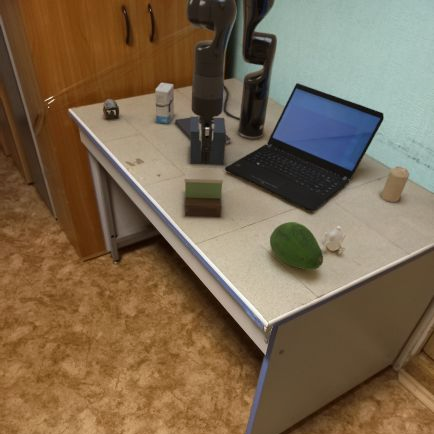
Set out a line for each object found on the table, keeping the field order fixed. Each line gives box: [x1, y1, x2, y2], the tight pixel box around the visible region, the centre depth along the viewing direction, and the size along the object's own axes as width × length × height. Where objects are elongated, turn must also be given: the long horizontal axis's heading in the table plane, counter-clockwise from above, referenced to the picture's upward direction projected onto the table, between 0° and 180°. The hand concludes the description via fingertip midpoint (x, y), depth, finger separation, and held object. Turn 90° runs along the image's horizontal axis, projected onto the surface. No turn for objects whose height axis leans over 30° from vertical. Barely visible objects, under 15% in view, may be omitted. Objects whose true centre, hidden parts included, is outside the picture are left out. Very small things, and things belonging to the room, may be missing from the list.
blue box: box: [189, 116, 227, 166], centre depth 139 cm, size 11×11×11 cm
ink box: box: [154, 82, 175, 125], centre depth 158 cm, size 8×5×12 cm, turn 168°
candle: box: [380, 165, 410, 203], centre depth 129 cm, size 6×6×10 cm
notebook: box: [174, 115, 231, 145], centre depth 155 cm, size 13×2×21 cm
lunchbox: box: [184, 167, 224, 200], centre depth 118 cm, size 6×10×6 cm, turn 93°
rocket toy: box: [323, 224, 346, 255], centre depth 109 cm, size 5×5×8 cm
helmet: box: [102, 98, 120, 120], centre depth 157 cm, size 6×8×7 cm
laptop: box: [224, 82, 385, 213], centre depth 133 cm, size 33×38×19 cm
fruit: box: [269, 221, 324, 271], centre depth 104 cm, size 15×10×10 cm, turn 33°
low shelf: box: [184, 197, 222, 218], centre depth 121 cm, size 12×10×4 cm
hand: (204, 155), depth 112 cm, fingers open, 8 cm apart
